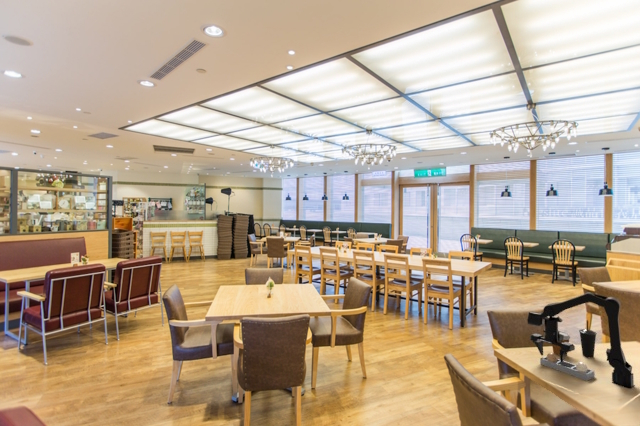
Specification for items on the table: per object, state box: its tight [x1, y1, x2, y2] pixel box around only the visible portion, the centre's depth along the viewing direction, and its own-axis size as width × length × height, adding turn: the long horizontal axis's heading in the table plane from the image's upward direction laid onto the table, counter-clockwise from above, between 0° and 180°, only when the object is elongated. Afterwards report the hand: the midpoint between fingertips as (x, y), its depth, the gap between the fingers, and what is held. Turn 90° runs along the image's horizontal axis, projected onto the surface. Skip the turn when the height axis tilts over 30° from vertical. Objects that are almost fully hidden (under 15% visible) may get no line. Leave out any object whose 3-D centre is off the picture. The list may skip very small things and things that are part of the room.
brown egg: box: [546, 352, 558, 363], centre depth 170 cm, size 4×4×6 cm
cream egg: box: [575, 361, 588, 373], centre depth 159 cm, size 4×4×6 cm
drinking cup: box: [578, 320, 597, 359], centre depth 183 cm, size 8×8×20 cm
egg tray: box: [539, 355, 596, 381], centre depth 164 cm, size 21×7×4 cm, turn 30°
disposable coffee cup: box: [551, 330, 571, 357], centre depth 185 cm, size 10×10×12 cm
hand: (551, 358), depth 170 cm, fingers open, 9 cm apart
